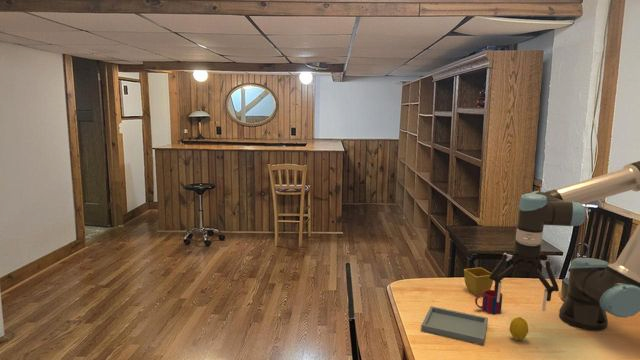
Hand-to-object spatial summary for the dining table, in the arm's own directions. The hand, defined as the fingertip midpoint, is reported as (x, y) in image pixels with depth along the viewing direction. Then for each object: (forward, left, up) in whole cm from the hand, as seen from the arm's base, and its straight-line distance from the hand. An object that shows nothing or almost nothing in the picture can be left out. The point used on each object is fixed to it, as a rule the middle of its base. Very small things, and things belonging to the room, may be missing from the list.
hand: (520, 305), depth 147 cm
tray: (+20, +1, -12) cm, 23 cm away
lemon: (0, 0, -12) cm, 12 cm away
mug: (+11, -18, -13) cm, 24 cm away
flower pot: (+16, -33, -12) cm, 39 cm away
